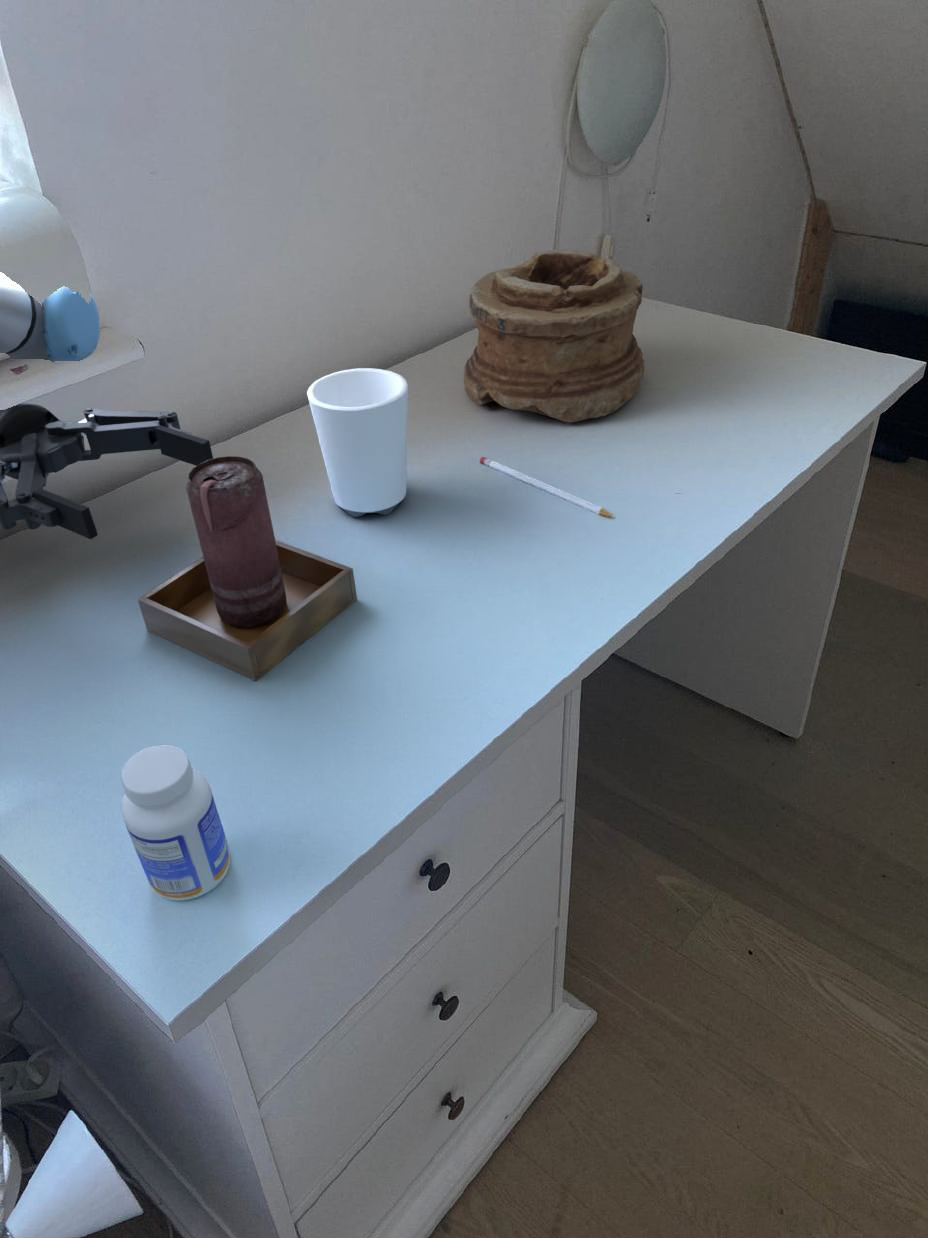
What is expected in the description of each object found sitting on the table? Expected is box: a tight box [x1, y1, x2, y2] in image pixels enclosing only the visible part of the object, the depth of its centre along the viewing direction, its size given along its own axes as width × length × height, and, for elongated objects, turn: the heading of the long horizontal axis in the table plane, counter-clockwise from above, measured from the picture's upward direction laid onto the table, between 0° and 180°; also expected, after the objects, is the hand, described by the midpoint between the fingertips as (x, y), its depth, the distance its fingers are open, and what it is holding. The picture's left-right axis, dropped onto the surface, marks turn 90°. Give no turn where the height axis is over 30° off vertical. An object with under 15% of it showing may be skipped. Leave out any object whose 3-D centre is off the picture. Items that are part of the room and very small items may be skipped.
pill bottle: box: [120, 744, 231, 902], centre depth 59 cm, size 5×5×10 cm
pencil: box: [479, 456, 616, 519], centre depth 100 cm, size 1×19×1 cm, turn 45°
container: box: [463, 249, 645, 423], centre depth 116 cm, size 22×24×15 cm
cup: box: [306, 367, 409, 518], centre depth 96 cm, size 10×10×13 cm
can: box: [185, 455, 287, 629], centre depth 80 cm, size 6×6×14 cm
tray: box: [137, 539, 358, 682], centre depth 83 cm, size 13×13×3 cm
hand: (153, 487), depth 83 cm, fingers open, 13 cm apart
